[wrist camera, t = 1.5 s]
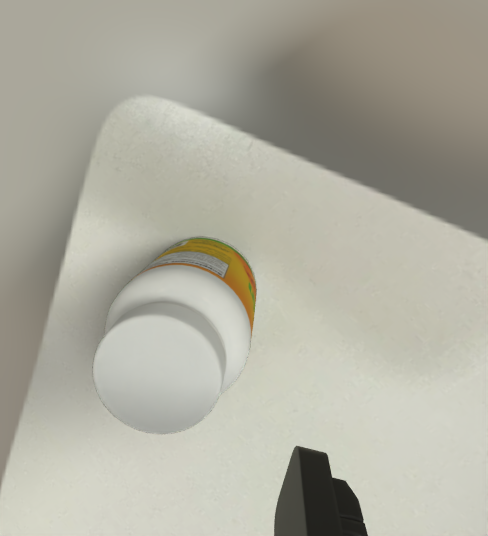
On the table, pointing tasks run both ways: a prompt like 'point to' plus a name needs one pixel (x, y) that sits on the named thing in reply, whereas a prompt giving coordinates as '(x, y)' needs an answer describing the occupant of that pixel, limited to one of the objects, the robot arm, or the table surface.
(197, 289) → the supplement bottle
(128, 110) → the table surface
